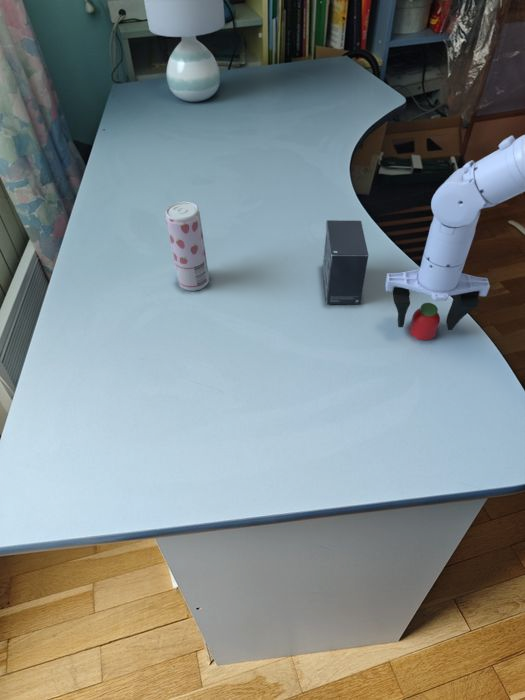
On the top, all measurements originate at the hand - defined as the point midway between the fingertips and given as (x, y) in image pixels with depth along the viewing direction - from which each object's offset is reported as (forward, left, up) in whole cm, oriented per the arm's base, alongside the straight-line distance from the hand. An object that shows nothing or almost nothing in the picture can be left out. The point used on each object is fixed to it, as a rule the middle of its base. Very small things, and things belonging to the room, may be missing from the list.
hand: (424, 324), depth 78 cm
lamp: (+48, -106, -2) cm, 116 cm away
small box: (+12, -12, -2) cm, 17 cm away
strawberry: (0, 0, -2) cm, 2 cm away
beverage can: (+39, -14, -2) cm, 41 cm away
